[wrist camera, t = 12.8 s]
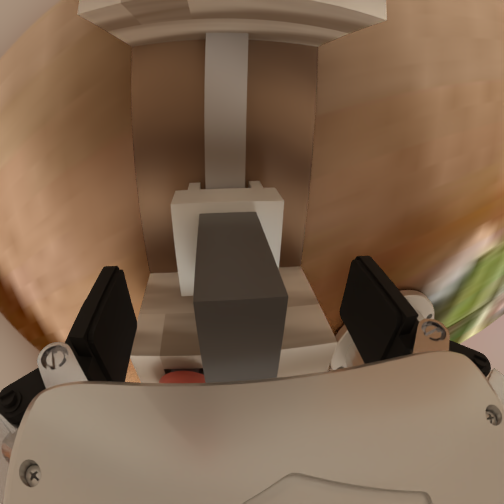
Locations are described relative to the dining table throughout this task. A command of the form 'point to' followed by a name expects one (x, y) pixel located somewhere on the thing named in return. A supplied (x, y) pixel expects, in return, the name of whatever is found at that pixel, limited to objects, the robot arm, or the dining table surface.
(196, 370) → the red knob cap
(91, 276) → the dining table surface
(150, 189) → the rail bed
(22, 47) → the dining table surface
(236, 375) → the carriage
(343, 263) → the dining table surface
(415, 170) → the dining table surface
